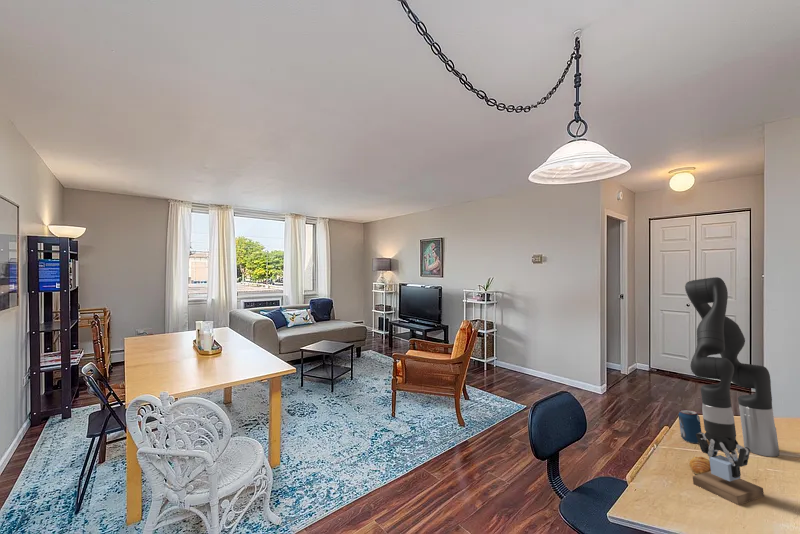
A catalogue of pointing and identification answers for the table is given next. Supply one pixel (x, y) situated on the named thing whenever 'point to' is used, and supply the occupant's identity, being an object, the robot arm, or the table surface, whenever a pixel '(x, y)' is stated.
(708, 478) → the walnut base
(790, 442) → the table surface
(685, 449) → the table surface
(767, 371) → the robot arm
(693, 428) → the soda can
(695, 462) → the pastry
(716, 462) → the blue cube
